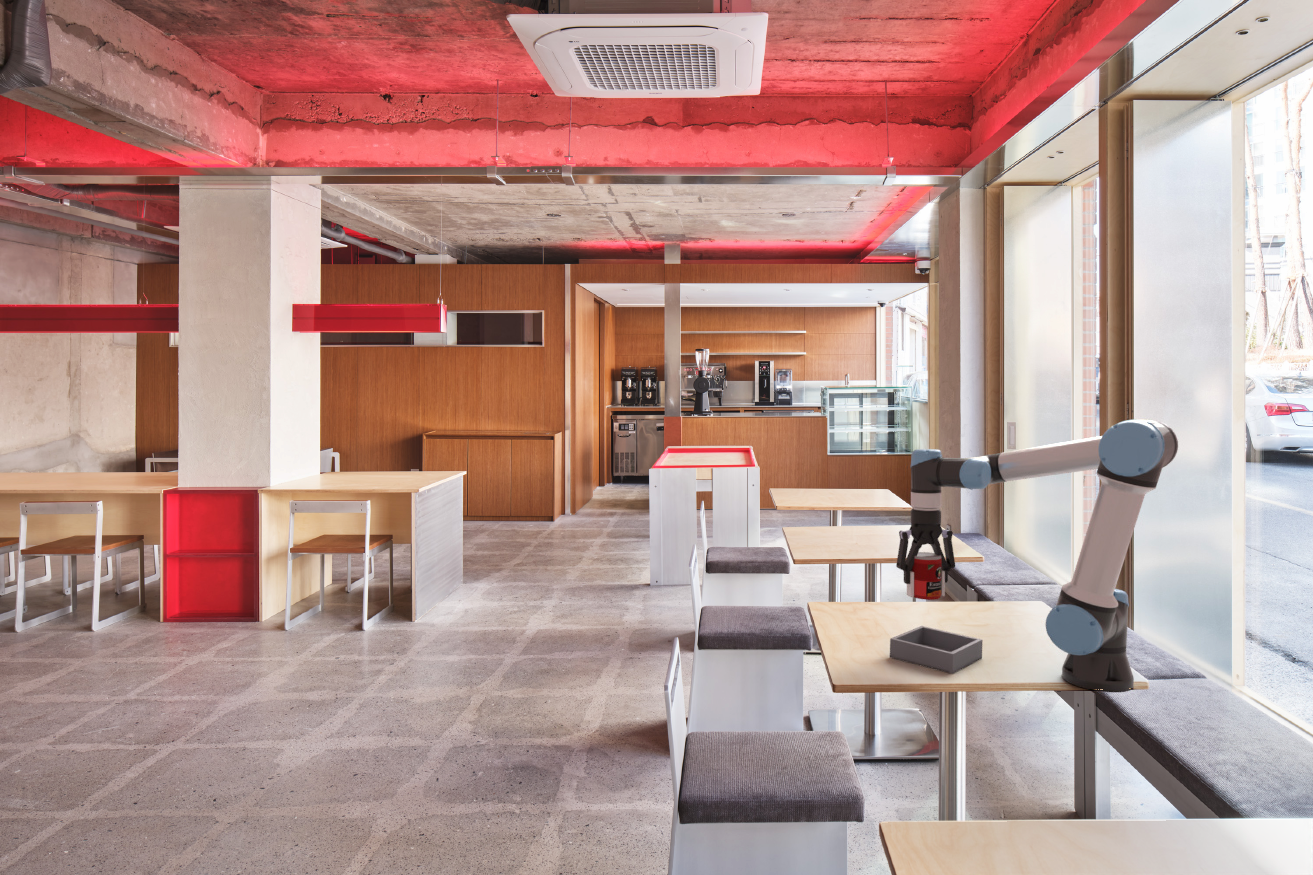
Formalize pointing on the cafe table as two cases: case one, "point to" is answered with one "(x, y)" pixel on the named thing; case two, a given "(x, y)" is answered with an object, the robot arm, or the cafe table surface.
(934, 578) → the canned food
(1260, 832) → the cafe table surface
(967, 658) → the box
